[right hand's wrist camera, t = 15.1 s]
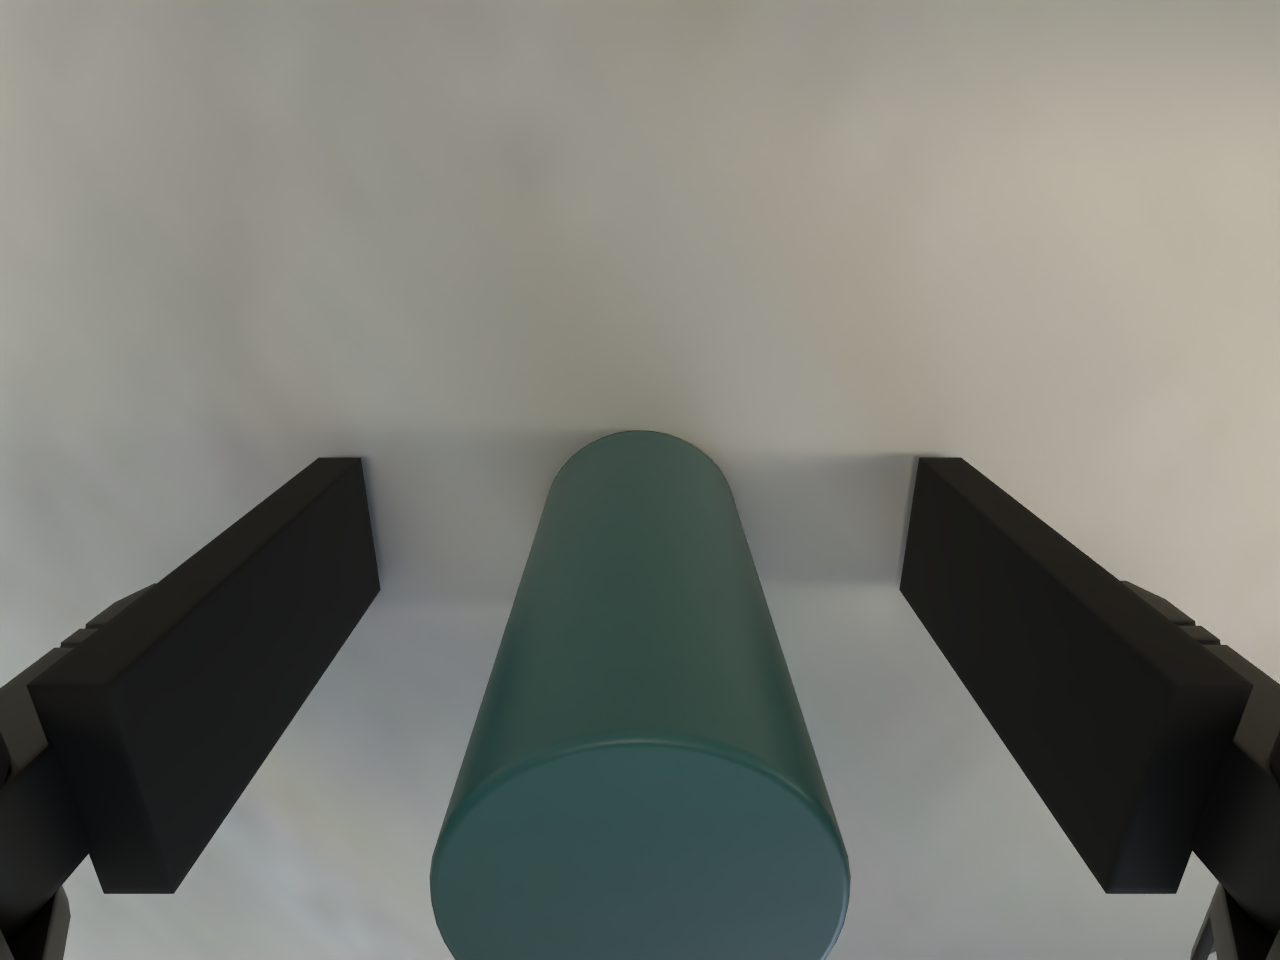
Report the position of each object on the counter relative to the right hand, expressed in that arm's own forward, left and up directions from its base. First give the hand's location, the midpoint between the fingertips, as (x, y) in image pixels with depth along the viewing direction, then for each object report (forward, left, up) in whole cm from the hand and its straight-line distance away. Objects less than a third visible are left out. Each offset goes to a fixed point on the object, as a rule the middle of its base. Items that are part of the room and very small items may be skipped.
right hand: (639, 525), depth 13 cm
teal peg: (0, 0, 0) cm, 0 cm away
